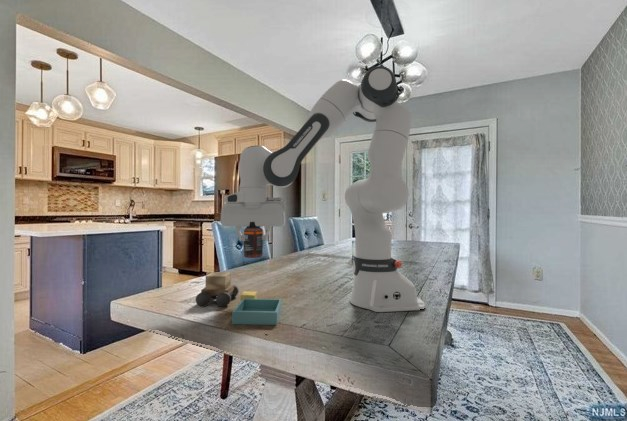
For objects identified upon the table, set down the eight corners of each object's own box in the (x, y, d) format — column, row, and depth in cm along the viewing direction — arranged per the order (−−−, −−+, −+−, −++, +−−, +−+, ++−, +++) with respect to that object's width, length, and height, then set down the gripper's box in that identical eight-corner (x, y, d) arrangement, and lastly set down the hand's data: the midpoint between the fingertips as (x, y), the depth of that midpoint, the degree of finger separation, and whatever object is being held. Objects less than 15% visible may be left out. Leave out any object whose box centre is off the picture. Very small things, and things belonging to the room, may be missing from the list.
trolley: (238, 296, 99) (238, 271, 99) (229, 306, 89) (229, 278, 89) (208, 296, 100) (208, 270, 100) (195, 306, 89) (195, 277, 89)
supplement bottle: (264, 255, 99) (265, 221, 99) (259, 258, 94) (260, 221, 94) (247, 255, 100) (247, 220, 100) (240, 258, 94) (241, 221, 94)
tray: (281, 310, 87) (282, 299, 87) (276, 324, 76) (277, 312, 76) (242, 309, 87) (243, 298, 87) (232, 324, 76) (232, 311, 76)
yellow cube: (256, 304, 92) (257, 291, 92) (254, 309, 88) (254, 295, 88) (243, 304, 92) (243, 291, 92) (240, 308, 88) (240, 295, 88)
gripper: (287, 197, 100) (287, 239, 100) (225, 197, 100) (224, 239, 100) (285, 197, 94) (285, 242, 94) (218, 196, 94) (218, 241, 94)
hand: (253, 240), depth 97 cm, fingers closed on supplement bottle, 6 cm apart
